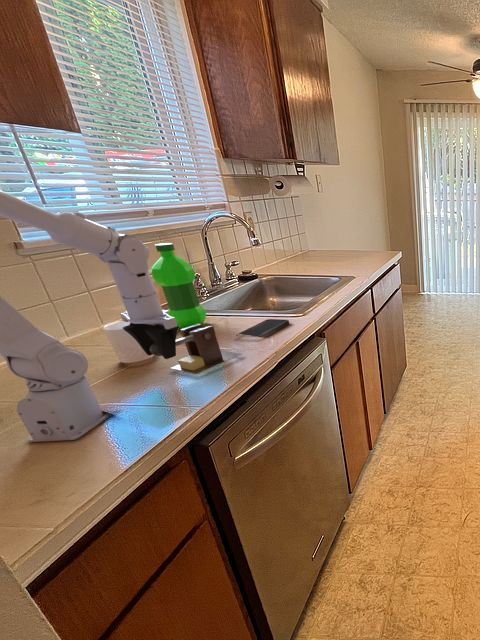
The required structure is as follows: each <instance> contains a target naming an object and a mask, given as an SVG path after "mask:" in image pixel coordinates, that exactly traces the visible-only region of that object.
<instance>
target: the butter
mask: <svg viewBox="0 0 480 640" xmlns="http://www.w3.org/2000/svg"><path fill="white" fill-rule="evenodd" d="M177 363H178V365H180V368H184V369H189V370H196V369H198V368H200V367H203V366H205V363H204V360H203V358H201V357H199V356H194V355H193V356H189V355H187V356H185V357H182V358H180V359H177Z"/></svg>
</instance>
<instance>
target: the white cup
mask: <svg viewBox="0 0 480 640" xmlns="http://www.w3.org/2000/svg"><path fill="white" fill-rule="evenodd" d="M128 325H130V322H123V320H118V321H115V322H112V323H108V324H106V325H104V326H103V327H102V329H103V331H104V333H105V335H106V337H107V339H108V341H109V343H110V345H111V347H112V349H113V350H114V351H113V352H114V353H115V354H116V356H117V357H118V359H119V361H120V363H122V364H131V363H139V362H142V361H146V360H148V359H151V358H153V357H154V356H155V355H150V356H149V355H147V354H146V353H145V351H144V350H143V349H142V347H141V346H140V345H139V343H138V342H137V341H136V340H135V339H134V338H133V337H132V336H131V335H130V334H129V333H127V332H126V331H125V330H124V329H123V327H125V326H128Z"/></svg>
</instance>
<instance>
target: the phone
mask: <svg viewBox="0 0 480 640" xmlns="http://www.w3.org/2000/svg"><path fill="white" fill-rule="evenodd" d="M289 325H290V320H288V319H277V318H276V319H275V318H268V319H265V320H263V321H261V322H258V323H257V324H255V325H253V326H251V327H248V328H247V329H245V330H243V331H241V332H239V333H237V334H235V336H236V337H239V335H242V336H248V337H249V338H251V337H253V338H263V339H266V338H267V337H269V336H271V335H272V334H274V333H276V332H278V331H280V330H282V329H283V328H285V327H287V326H289Z"/></svg>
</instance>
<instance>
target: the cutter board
mask: <svg viewBox="0 0 480 640" xmlns="http://www.w3.org/2000/svg"><path fill="white" fill-rule="evenodd" d="M198 328H201V329H198ZM195 329H198V330H195ZM192 330H195V331H193V332H192V333H193V336H194V339H195V341H189V342H186V343H184V345H185V348H186V350H187V354H188V356H193V355H194V356H199V357H201V358H203V360H204V363H205V366H203V367H200V368H198V369H196V370H189V369H184V368H180V365H179V364H177V365H174V366H172V367H171V369H173V370H176V371H181V372H186V373H191V374H195V375H196V374H197V375H198V374H200V373H202V372H205V371H207V370H209V369H211V368H213V367H216V366H218V365H221V364H223V363H225V362H227V361H229V360H232V359H235V358H237V357H239V356H241V355H242V353H239V352H234V351H228V350H223V349H221V348H220V344H219V342H218V339H217V334H216V332H215V328H214V326H213V325H208V326H205V327H203V326H202V324H196V325H193V326H190V327H187V328H184V329H182V328H180V333H181V336H182V338H183V337H186V336H189V335H190V334H189V331H192Z"/></svg>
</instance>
